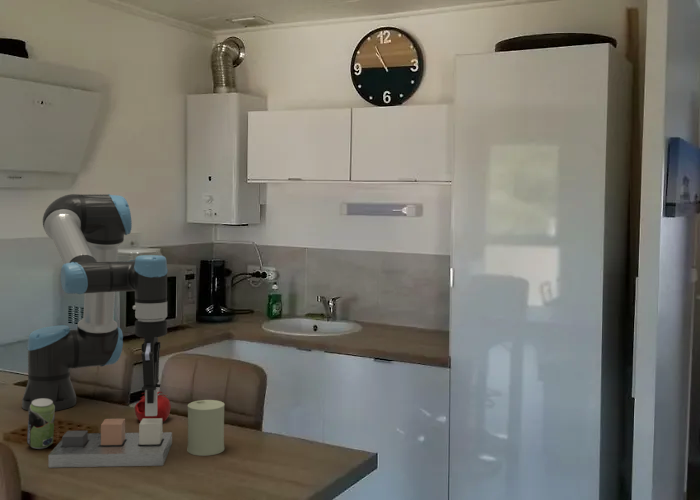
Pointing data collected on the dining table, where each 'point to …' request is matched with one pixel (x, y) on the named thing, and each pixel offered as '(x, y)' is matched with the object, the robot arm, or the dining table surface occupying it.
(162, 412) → the pomegranate
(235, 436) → the dining table surface
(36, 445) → the beverage can
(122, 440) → the terracotta key
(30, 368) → the robot arm
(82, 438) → the charcoal key
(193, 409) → the can
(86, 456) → the key panel
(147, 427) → the cream key
